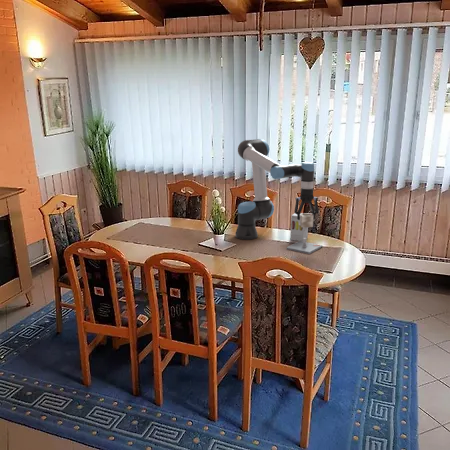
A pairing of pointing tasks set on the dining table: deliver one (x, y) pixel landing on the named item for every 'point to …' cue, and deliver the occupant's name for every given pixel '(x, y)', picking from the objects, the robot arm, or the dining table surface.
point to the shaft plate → (304, 247)
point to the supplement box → (297, 229)
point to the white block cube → (306, 220)
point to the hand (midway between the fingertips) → (305, 224)
